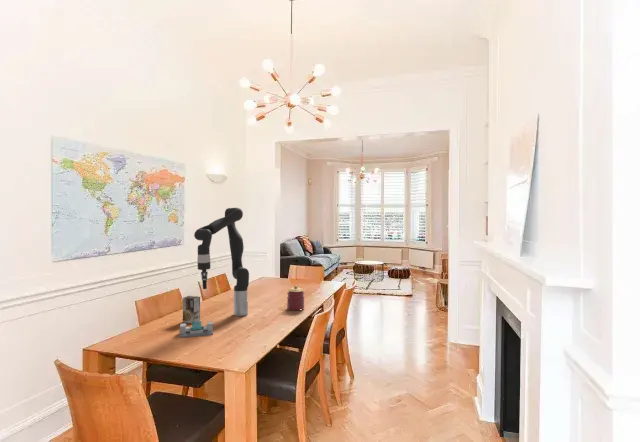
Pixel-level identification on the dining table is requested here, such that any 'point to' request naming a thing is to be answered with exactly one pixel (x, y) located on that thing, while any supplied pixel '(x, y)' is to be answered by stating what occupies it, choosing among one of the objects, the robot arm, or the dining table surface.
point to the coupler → (196, 325)
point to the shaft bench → (203, 332)
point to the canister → (295, 298)
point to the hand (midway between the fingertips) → (204, 287)
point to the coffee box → (191, 309)
